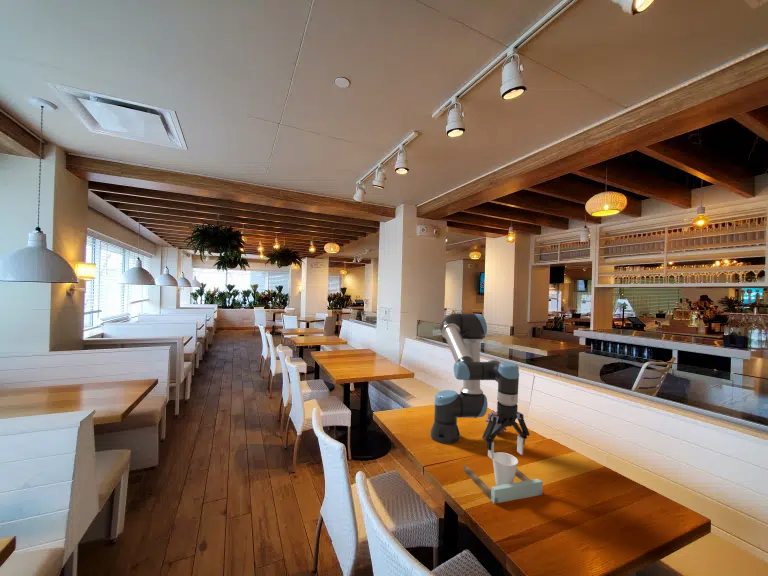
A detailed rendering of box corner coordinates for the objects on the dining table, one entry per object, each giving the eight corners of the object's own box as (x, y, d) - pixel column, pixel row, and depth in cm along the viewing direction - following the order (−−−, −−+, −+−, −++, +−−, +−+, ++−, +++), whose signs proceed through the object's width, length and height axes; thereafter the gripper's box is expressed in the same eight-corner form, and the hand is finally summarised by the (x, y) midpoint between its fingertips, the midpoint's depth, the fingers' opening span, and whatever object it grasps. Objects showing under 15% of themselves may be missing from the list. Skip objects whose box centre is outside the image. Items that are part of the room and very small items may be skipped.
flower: (510, 431, 178) (510, 409, 178) (505, 440, 168) (506, 417, 168) (488, 426, 184) (489, 405, 184) (483, 434, 174) (483, 412, 174)
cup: (519, 495, 123) (520, 467, 122) (492, 492, 124) (493, 463, 124) (514, 480, 132) (515, 453, 132) (489, 477, 134) (490, 450, 134)
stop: (491, 500, 120) (491, 486, 120) (538, 491, 126) (538, 478, 126) (494, 503, 118) (494, 490, 118) (542, 494, 124) (542, 481, 124)
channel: (463, 470, 139) (463, 465, 139) (505, 463, 145) (505, 459, 145) (494, 503, 118) (494, 498, 118) (542, 494, 124) (542, 489, 124)
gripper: (485, 409, 121) (483, 464, 122) (540, 403, 128) (538, 456, 129) (474, 401, 128) (472, 454, 129) (527, 396, 135) (525, 446, 136)
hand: (505, 455), depth 129 cm, fingers open, 13 cm apart
